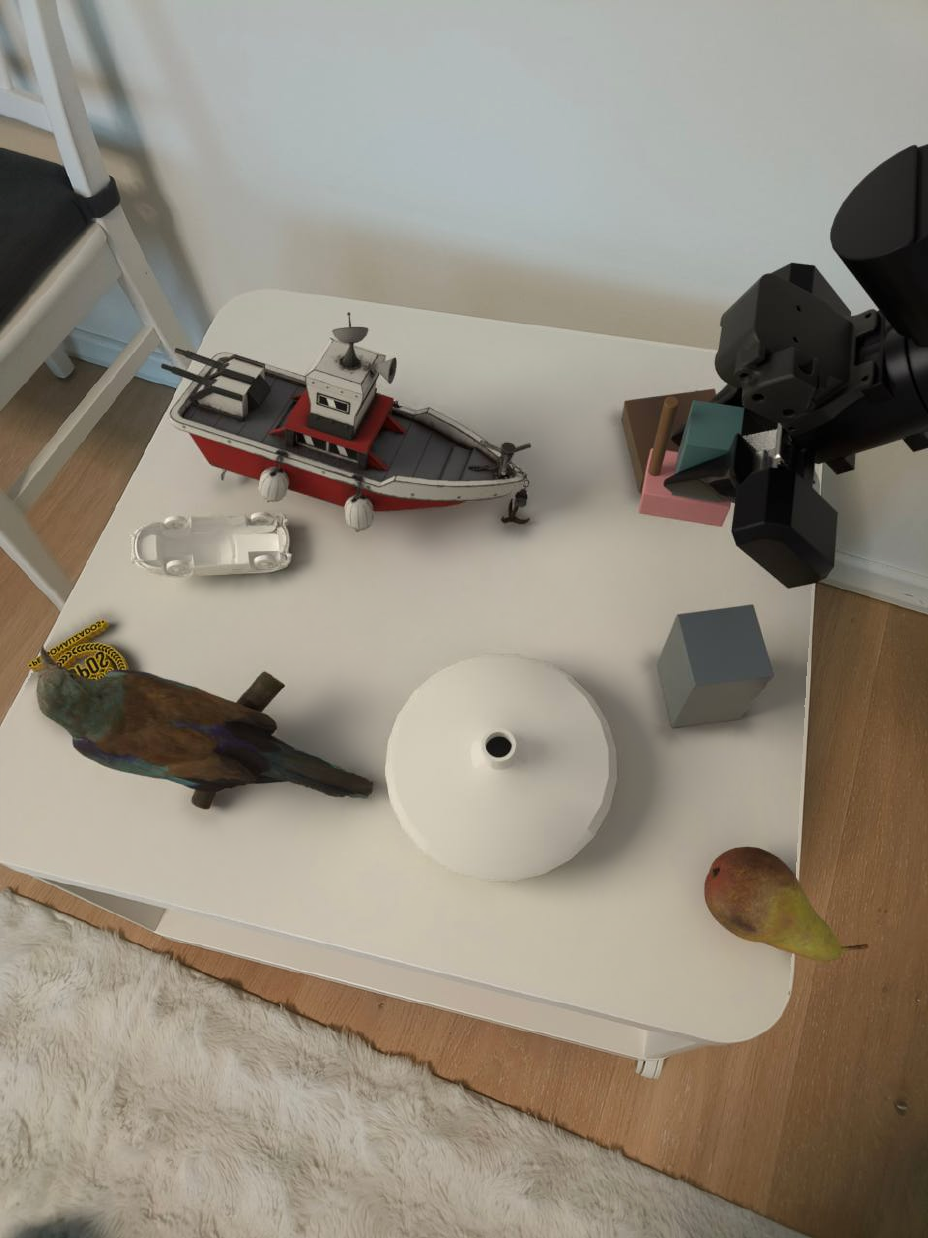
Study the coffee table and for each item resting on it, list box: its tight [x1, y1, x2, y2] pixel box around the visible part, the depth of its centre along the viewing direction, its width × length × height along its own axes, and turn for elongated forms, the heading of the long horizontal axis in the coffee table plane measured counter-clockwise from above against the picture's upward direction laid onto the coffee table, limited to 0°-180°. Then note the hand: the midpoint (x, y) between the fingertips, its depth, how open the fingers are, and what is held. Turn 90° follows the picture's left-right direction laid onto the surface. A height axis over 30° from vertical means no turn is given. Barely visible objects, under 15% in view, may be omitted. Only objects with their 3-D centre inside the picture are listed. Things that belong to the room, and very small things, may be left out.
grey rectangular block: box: [656, 603, 775, 729], centre depth 58 cm, size 5×5×9 cm
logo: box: [27, 619, 130, 680], centre depth 65 cm, size 7×1×8 cm
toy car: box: [129, 511, 292, 578], centre depth 67 cm, size 5×12×4 cm, turn 99°
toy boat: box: [160, 312, 532, 532], centre depth 65 cm, size 13×30×17 cm, turn 73°
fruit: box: [703, 846, 870, 963], centre depth 53 cm, size 6×6×12 cm
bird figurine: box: [36, 645, 374, 811], centre depth 57 cm, size 13×10×20 cm
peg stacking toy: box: [638, 397, 744, 528], centre depth 52 cm, size 6×4×10 cm, turn 77°
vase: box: [384, 653, 618, 882], centre depth 57 cm, size 16×16×7 cm
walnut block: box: [621, 388, 717, 494], centre depth 69 cm, size 8×8×2 cm
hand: (671, 463), depth 54 cm, fingers closed on peg stacking toy, 3 cm apart
